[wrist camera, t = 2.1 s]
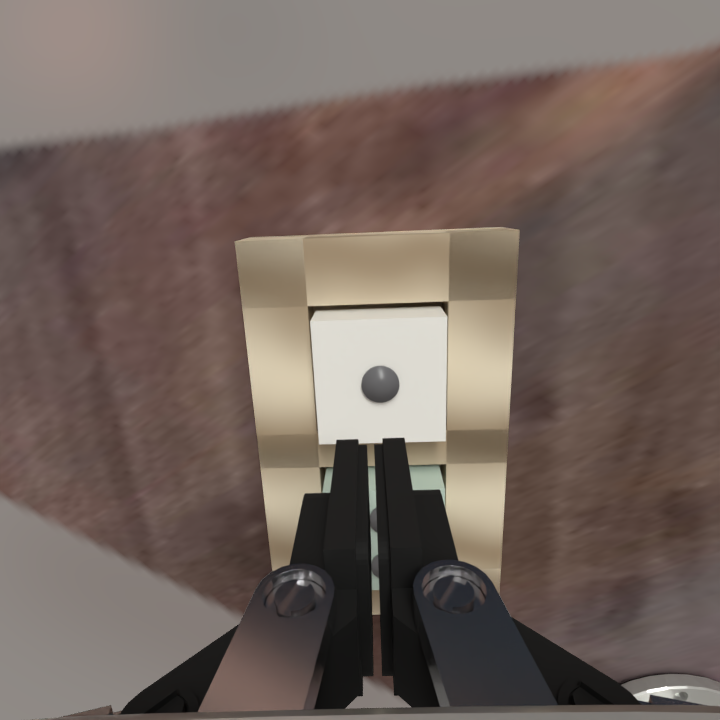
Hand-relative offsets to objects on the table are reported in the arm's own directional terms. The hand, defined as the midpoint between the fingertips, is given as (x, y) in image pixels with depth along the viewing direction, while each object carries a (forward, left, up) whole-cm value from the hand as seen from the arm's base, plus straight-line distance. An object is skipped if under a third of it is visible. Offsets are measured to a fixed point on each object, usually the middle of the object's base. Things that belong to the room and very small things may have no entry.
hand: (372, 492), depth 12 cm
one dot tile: (0, 0, -11) cm, 11 cm away
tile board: (-5, 0, -14) cm, 15 cm away
